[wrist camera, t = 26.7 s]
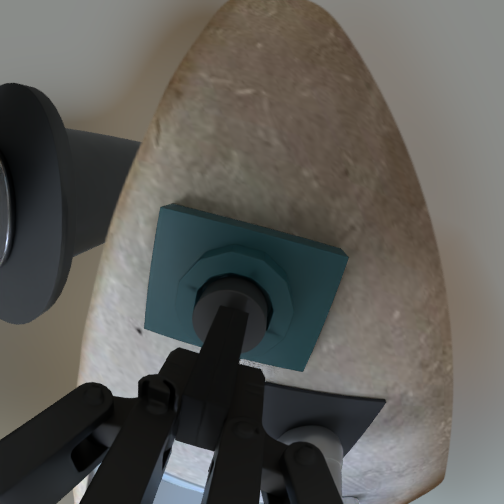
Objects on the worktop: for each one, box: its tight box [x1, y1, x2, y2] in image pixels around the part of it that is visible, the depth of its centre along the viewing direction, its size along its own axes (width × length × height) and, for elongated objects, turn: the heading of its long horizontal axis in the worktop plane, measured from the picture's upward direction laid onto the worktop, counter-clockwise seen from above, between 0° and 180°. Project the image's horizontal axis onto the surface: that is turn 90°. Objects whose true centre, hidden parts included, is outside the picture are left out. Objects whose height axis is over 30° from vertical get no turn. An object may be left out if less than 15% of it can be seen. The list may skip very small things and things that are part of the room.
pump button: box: [192, 277, 267, 354], centre depth 16 cm, size 4×4×2 cm
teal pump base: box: [144, 204, 349, 372], centre depth 18 cm, size 12×9×4 cm
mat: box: [262, 382, 386, 458], centre depth 24 cm, size 12×12×1 cm
